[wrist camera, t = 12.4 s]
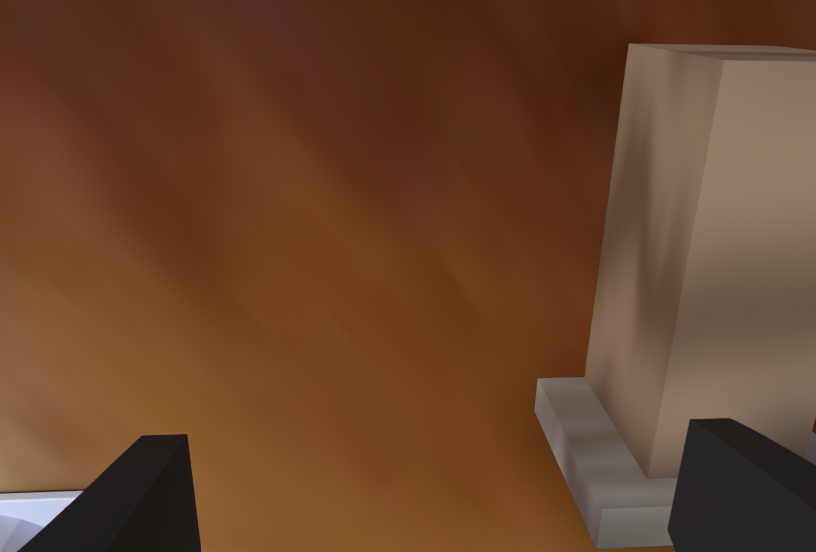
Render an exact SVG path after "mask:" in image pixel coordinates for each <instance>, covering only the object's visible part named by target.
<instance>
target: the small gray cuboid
mask: <svg viewBox="0 0 816 552" xmlns="http://www.w3.org/2000/svg"><path fill="white" fill-rule="evenodd" d="M535 413H536V415H537V418H538V420H539V422H540V424H541V427H542V429H543V431H544V433H545V436H546V438H547V440H548V442H549V445H550V447H551V449H552V451H553V453H554V456H555V458H556V460H557V462H558V465H559V467H560V469H561V471H562V474H563V476H564V478H565V480H566V483H567V485H568V487H569V489H570V492H571V494H572V496H573V498H574V501H575V503H576V505H577V507H578V510H579V512H580V514H581V516H582V518H583V521H584V523H585V525H586V527H587V530H588V532H589V534H590V536H591V539H592V541H593V543H594V545H595V548H596V549H605V548H627V547H649V546H672V545H673V543H672V541H671V538H670V536H669V533H668V531H667V528H668V523H669V518H670V513H671V508H672V504H673V499H674V494H675V489H676V484H677V479H678V474H679V469H680V464H681V459H682V455H683V450H684V445H685V440H686V435H687V430H688V425H689V420H690V419H711V418H731V419H733V420H735V421H737V422H739V423H741V424H743V425H745V426H747V427H749V428H751V429H753V430H755V431H757V432H759V433H760V434H762V435H764V436H766V437H768V438H769V439H771V440H773V441H775V442H777V443H778V444H780V445H782V446H784V447H785V448H787V449H789V450H790V451H792V452H794V453H796V454H797V455H799V456H801V457H802V458H804V459H806V460H808V461H809V462H811V463H813V464H814V465H816V434H815V433H814V432H813V431H812V429H813V426H814V422H815V419H816V51H812V50H804V49H796V48H788V47H779V46H744V45H682V44H629V47H628V55H627V62H626V70H625V77H624V85H623V92H622V100H621V107H620V115H619V122H618V130H617V137H616V145H615V152H614V160H613V167H612V175H611V182H610V190H609V197H608V205H607V212H606V220H605V227H604V235H603V242H602V250H601V257H600V265H599V272H598V280H597V287H596V295H595V302H594V310H593V317H592V325H591V332H590V340H589V347H588V355H587V362H586V370H585V377H572V378H538V382H537V392H536V401H535Z"/></svg>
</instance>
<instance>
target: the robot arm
mask: <svg viewBox="0 0 816 552" xmlns="http://www.w3.org/2000/svg"><path fill="white" fill-rule="evenodd" d="M667 531H668V533H669V536H670V538H671V541H672V543H673V546H674V548H675V551H676V552H816V465H814V464H813V463H811V462H809V461H808V460H806V459H804V458H802V457H801V456H799V455H797V454H796V453H794V452H792V451H790V450H789V449H787V448H785V447H784V446H782V445H780V444H778V443H777V442H775V441H773V440H771V439H769V438H768V437H766V436H764V435H762V434H760V433H759V432H757V431H755V430H753V429H751V428H749V427H747V426H745V425H743V424H741V423H739V422H737V421H735V420H733V419H731V418H711V419H690V420H689V425H688V430H687V435H686V440H685V445H684V450H683V455H682V459H681V464H680V469H679V474H678V479H677V484H676V489H675V494H674V499H673V504H672V508H671V513H670V518H669V523H668V528H667ZM0 552H201V544H200V536H199V528H198V520H197V511H196V503H195V495H194V486H193V478H192V470H191V462H190V453H189V445H188V437H187V434H180V435H146V436H141V437H140V438H139V439H138V440H137V441H136V442H135V443H133V444H132V445H131V446H130V447H129V448H128V449H127V450H126V451H125V452H124V453H123V454H122V455H121V456H120V457H119V458H118V459H116V460H115V461H114V462H113V463H112V464H111V465H110V466H109V467H108V468H107V469H106V470H105V471H104V472H103V473H102V474H101V475H100V476H99V477H98V478H97V479H95V480H94V481H93V482H92V483H91V484H90V485H89V486H88V487H87V488H86V489H85V490H84V491H64V492H37V493H9V494H0Z"/></svg>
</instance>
